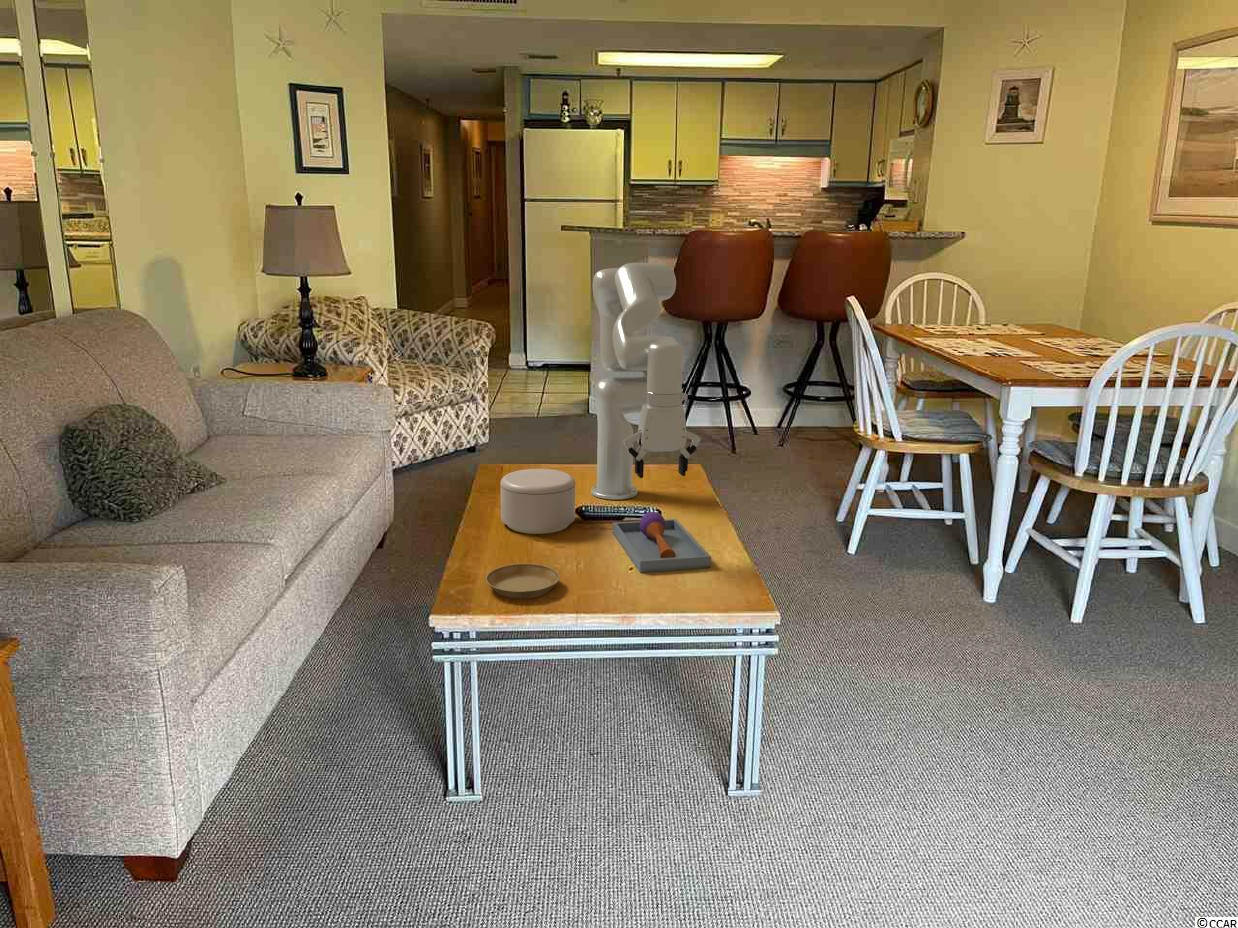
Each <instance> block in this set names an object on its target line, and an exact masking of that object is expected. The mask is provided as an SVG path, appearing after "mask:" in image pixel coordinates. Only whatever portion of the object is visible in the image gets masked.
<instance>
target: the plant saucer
mask: <svg viewBox="0 0 1238 928" xmlns="http://www.w3.org/2000/svg"><path fill="white" fill-rule="evenodd" d="M560 578H561V575H560V574H559V572H558V571H557V570H555V569H553V568H552V567H549V566H547V565H544V564H542V565H541V564H537V563H514V564H513V563H512V564H507V565H503V566H499V567H497V568H494V569H493V570H491V571H490V572H488V573H487V575H486V576H485V581H486V583H487V584H488V586H489V587H490V588H491V589H492V590H493V591H495V592H496V593H497V594H499V595H500V596H503V597H506V598H511V599H520V600H521V599H522V600H523V599H532V598H533V599H534V598H536V597H540V596H543V595H545V594H546V593H548V592H549V591H550V590H551V589H553V587H555V585H557V583H558V582H559V580H560Z"/></svg>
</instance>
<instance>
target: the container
mask: <svg viewBox="0 0 1238 928" xmlns="http://www.w3.org/2000/svg"><path fill="white" fill-rule="evenodd" d="M499 485H500V521H501V522H502V523H503V524H505V525H507V527H508V529H511V530H513V531H515V532H518V533H523V534H529V535H530V534H533V535H536V534H538V535H541V534H552V533H556V532H560V531H563V530H565V529H567V528H568V526H569V525H570V524H572V523H573V522H574V521H575V519H576V481H575V478H574V477H573V476H572V475H571V474H569V473H567V472H565V471H562V470H557V469H550V468H528V469H527V468H525V469H519V470H516V471H512V472H509V473H507V474H505V475H504V476H503V477H502V478H501V479H500V483H499Z"/></svg>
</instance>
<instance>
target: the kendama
mask: <svg viewBox="0 0 1238 928" xmlns="http://www.w3.org/2000/svg"><path fill="white" fill-rule="evenodd" d="M665 520H666V519H665V518H664V516H663V515H661V513H659V512H656V511H649V512H647V513H645V514H644V515H643V516H642V517H641V518H640V520H639V521H640V529H641V531H642V533H643V534H644V535H645V536H647V537H650V538H652V539H657V544H658V549H659V553H660V558H675V555H676V554H675V552H674V551H673V550H672V548H671V547H670V546H669V545H668V544H667V542H666V541H665V540H664V539H663V538H662V537H661V536H662V535H663V533H664V530H665V526H666V523H665Z"/></svg>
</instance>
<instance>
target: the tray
mask: <svg viewBox="0 0 1238 928" xmlns="http://www.w3.org/2000/svg"><path fill="white" fill-rule="evenodd" d="M664 520H665V523H666V526H665V530H664V533H663V535H662V536H661V537H662V538H663V539H664V540H665V541H666V542H667V544H668V545H669V546H670V547H671V548H672V550H673V551H674V552H675V554H676V555H675V558H660V553H659V549H658V544H657V539H652V538H650V537H647V536H645V535H644V534H643V533H642V531H641V529H640V521H641V520H636V521H620V522H612V529H611V530H612V535H613V536H614V537H615V539H616V541H617V542H618V543H619V545H620V546H621V547H622V549H623V550H624V552H625V553H626V555H627V557H628V558H629V559H630V560H631V562H632V564H633V565H634V566H635V568H636V569H637V571H638V573H639V574H642V573H658V572H659V573H660V572H669V571H670V572H672V571H683V570H697V569H698V570H699V569H710V568H711V564H712V563H711V562H712V561H711V560H712V558H711V555H710V554H709V553H708V551H707V550H706V549H705V548H704V547H703V546H702V545H701V544H700V543H699V542H698V541H697V539H695V537H694V536H693V535H691V533H690V532H689V531H688V530H687V529H686V528H685V527H684V526H683V525H682V524H681V522H679V521H678V519H677V518H670V519H667V518H666V519H664Z"/></svg>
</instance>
